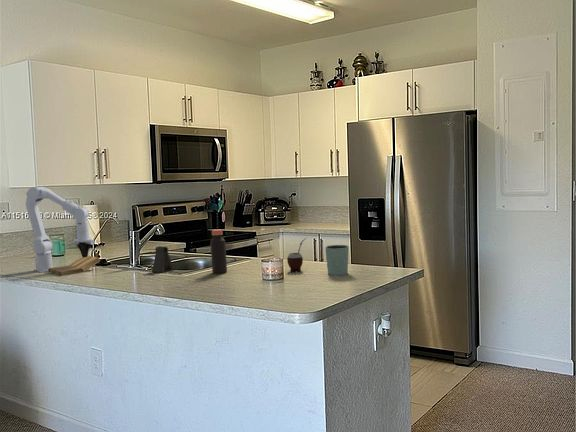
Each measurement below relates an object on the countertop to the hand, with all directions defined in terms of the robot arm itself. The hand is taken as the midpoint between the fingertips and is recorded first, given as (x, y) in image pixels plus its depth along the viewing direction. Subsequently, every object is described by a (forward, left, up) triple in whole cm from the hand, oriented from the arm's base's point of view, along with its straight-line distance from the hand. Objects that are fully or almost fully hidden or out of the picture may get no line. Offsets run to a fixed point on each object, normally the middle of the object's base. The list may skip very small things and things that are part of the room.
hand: (85, 257), depth 296 cm
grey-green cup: (+123, +60, -7) cm, 137 cm away
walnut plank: (0, -11, -6) cm, 13 cm away
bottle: (+73, +33, -6) cm, 80 cm away
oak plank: (0, 0, -4) cm, 4 cm away
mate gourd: (+102, +55, -7) cm, 116 cm away
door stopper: (+44, +20, -7) cm, 49 cm away
